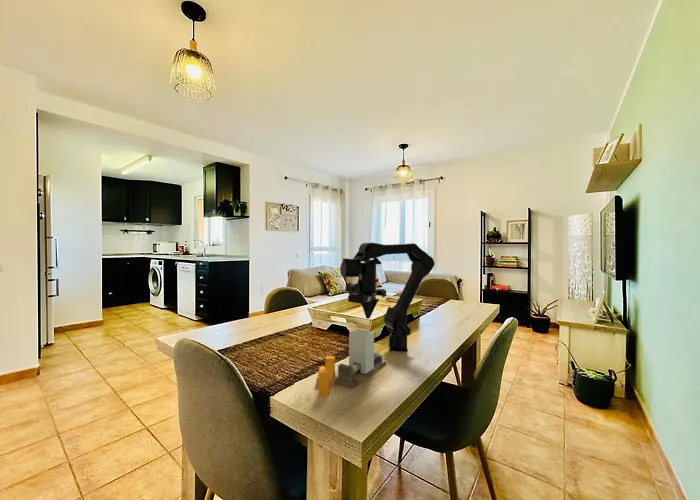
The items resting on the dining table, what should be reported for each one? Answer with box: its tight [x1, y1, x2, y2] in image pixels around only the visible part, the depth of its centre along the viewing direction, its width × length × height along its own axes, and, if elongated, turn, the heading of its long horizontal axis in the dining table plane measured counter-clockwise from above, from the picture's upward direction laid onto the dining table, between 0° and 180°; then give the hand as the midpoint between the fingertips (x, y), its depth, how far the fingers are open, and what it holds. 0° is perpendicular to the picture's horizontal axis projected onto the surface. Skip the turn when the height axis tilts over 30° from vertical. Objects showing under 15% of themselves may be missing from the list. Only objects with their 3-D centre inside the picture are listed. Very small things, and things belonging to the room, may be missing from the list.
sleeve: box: [348, 328, 375, 374], centre depth 94 cm, size 5×6×11 cm
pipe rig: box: [334, 350, 387, 390], centre depth 95 cm, size 21×6×6 cm, turn 146°
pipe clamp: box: [315, 355, 336, 397], centre depth 86 cm, size 12×4×6 cm, turn 174°
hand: (367, 318), depth 112 cm, fingers closed
